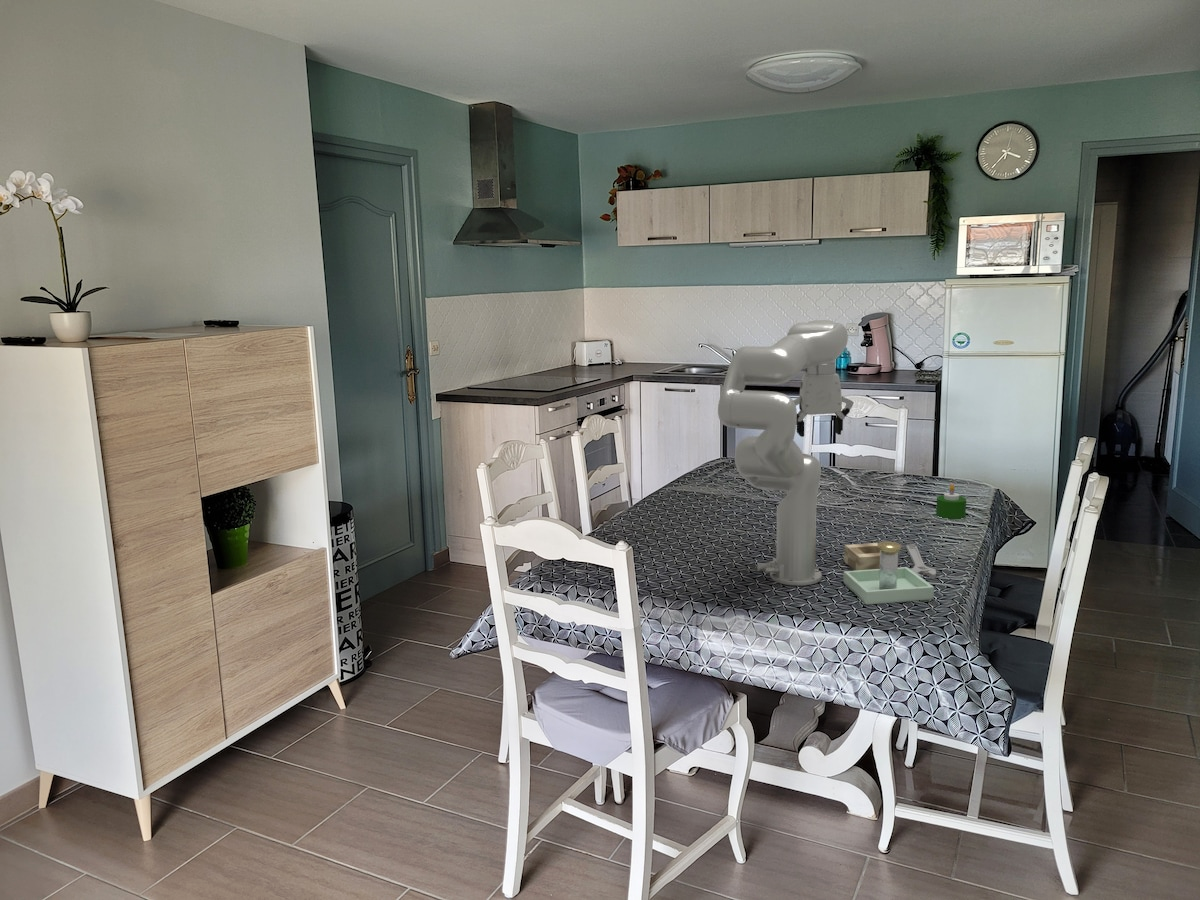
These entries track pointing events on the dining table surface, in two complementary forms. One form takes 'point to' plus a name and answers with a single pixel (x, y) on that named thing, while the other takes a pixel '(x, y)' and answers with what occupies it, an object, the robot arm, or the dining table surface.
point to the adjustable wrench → (919, 563)
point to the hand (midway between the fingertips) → (819, 434)
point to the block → (862, 556)
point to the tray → (907, 589)
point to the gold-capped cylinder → (888, 564)
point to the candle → (951, 505)
